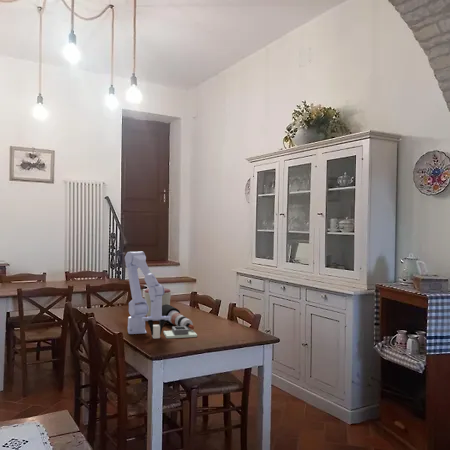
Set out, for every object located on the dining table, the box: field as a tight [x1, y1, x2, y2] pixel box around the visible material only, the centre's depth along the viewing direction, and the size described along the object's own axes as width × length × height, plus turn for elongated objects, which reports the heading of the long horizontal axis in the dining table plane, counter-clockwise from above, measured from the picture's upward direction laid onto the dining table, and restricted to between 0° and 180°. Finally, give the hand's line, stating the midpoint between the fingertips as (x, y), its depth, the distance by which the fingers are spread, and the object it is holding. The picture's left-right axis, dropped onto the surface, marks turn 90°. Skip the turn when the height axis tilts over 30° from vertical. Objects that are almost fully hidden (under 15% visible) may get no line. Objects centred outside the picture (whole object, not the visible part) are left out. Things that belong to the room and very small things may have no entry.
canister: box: [142, 287, 173, 317], centre depth 300 cm, size 18×18×21 cm
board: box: [163, 325, 198, 339], centre depth 253 cm, size 16×12×4 cm
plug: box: [151, 324, 161, 339], centre depth 248 cm, size 4×5×6 cm
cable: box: [162, 304, 195, 330], centre depth 271 cm, size 10×34×10 cm, turn 31°
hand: (156, 334), depth 248 cm, fingers closed on plug, 3 cm apart
